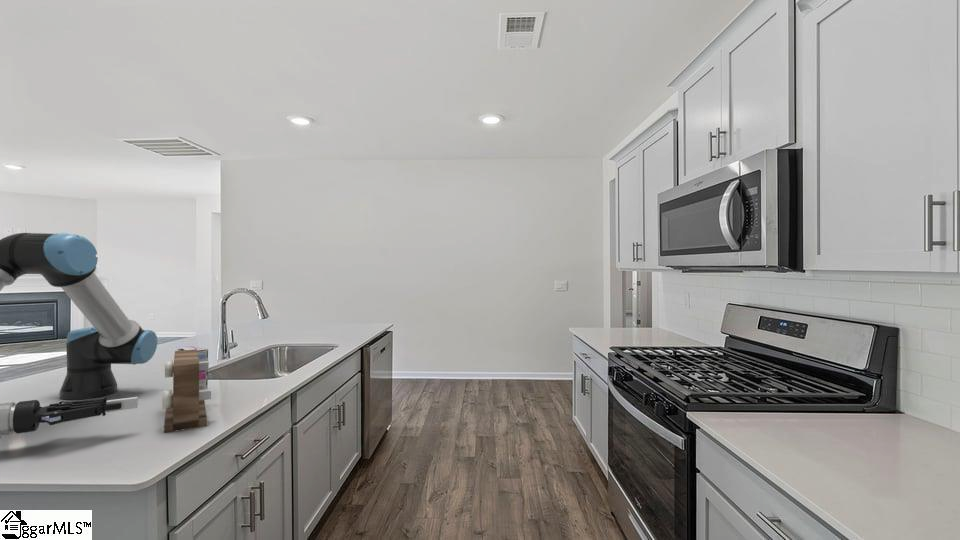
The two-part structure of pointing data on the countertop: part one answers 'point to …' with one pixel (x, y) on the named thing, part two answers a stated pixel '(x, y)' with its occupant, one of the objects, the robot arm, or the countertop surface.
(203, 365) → the upper plunger
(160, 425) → the countertop surface
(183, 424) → the slatted wooden stand
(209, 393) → the lower plunger
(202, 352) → the candy bar box
